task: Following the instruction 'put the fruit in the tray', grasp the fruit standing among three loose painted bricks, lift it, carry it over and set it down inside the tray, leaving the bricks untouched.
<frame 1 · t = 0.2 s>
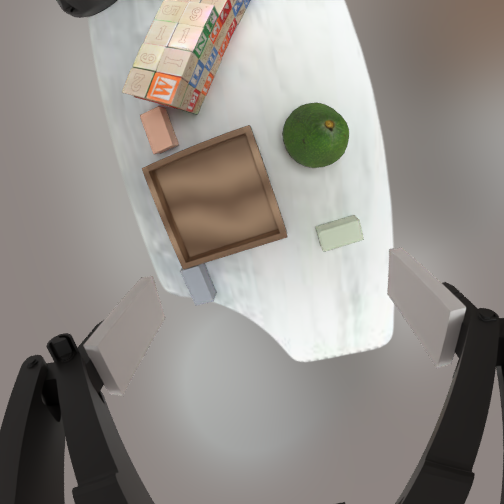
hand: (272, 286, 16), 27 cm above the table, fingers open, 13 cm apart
terracotta brick: (163, 130, 38), on the table
tray: (216, 197, 41), on the table
sage brick: (337, 229, 42), on the table
fruit: (309, 137, 38), on the table
stack of blocks: (206, 45, 34), on the table
slate brick: (201, 277, 46), on the table
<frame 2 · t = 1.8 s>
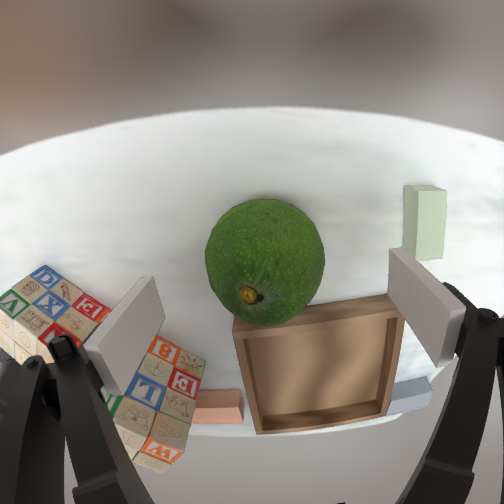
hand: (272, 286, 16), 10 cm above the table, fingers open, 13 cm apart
terracotta brick: (217, 397, 32), on the table
tray: (319, 366, 29), on the table
sage brick: (416, 217, 24), on the table
fruit: (265, 235, 25), on the table
stack of blocks: (113, 331, 30), on the table
slate brick: (402, 388, 31), on the table
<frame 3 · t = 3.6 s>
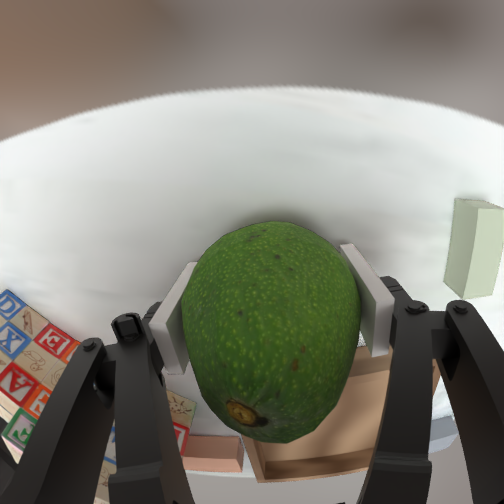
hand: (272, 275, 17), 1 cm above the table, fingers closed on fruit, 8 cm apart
terracotta brick: (213, 442, 25), on the table
tray: (334, 414, 23), on the table
sage brick: (464, 240, 17), on the table
fruit: (272, 265, 18), on the table, touching gripper
stack of blocks: (87, 365, 23), on the table
slate brick: (424, 427, 24), on the table
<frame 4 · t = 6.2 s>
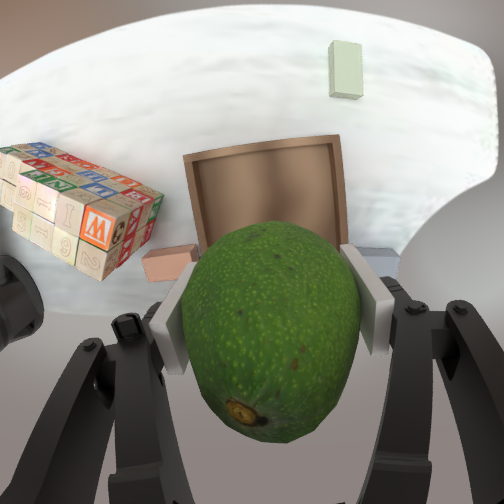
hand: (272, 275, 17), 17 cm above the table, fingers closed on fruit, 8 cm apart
terracotta brick: (175, 258, 35), on the table
tray: (270, 213, 33), on the table
sage brick: (341, 73, 27), on the table
fruit: (272, 265, 18), point 15 cm above the table, touching gripper
stack of blocks: (88, 186, 33), on the table
slate brick: (367, 259, 34), on the table
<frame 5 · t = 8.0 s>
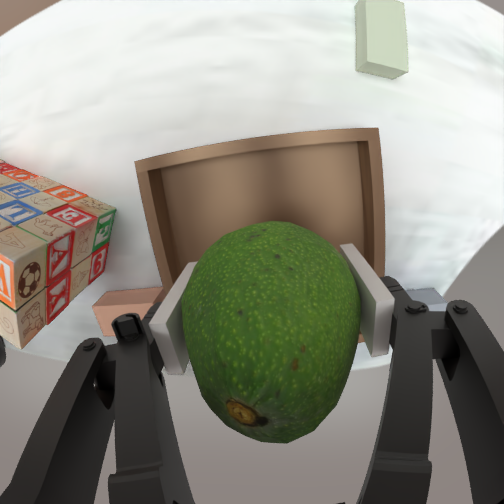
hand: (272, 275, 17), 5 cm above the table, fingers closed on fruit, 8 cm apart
terracotta brick: (139, 303, 25), on the table
tray: (270, 245, 22), on the table
sage brick: (373, 41, 16), on the table
fruit: (272, 265, 18), point 4 cm above the table, touching gripper
stack of blocks: (29, 201, 22), on the table
slate brick: (401, 304, 24), on the table
when the fingers open (4 cm above the table, at t = 9.2 s): fruit drops 2 cm, resting on tray.
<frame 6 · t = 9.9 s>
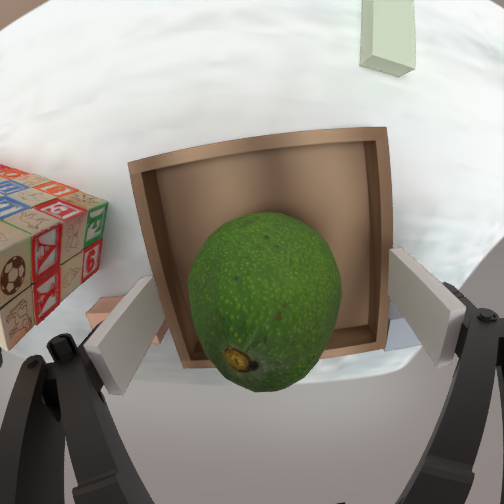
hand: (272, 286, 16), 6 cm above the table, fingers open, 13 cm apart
terracotta brick: (134, 309, 24), on the table
tray: (271, 250, 21), on the table
sage brick: (379, 37, 15), on the table
fruit: (267, 253, 21), resting on tray
stack of blocks: (21, 201, 21), on the table
slate brick: (407, 311, 22), on the table
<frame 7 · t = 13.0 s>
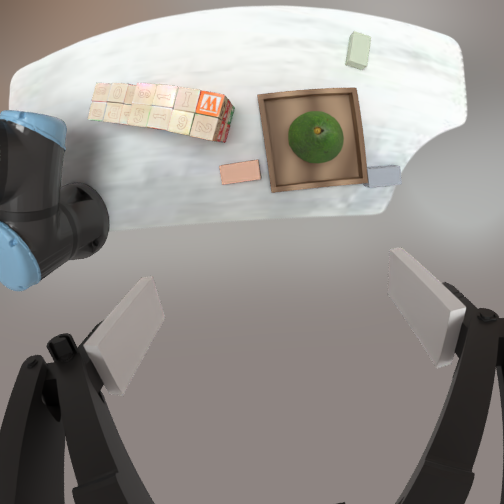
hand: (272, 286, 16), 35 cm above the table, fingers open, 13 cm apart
terracotta brick: (241, 171, 47), on the table
tray: (312, 138, 45), on the table
sage brick: (355, 53, 39), on the table
fruit: (311, 138, 44), resting on tray
stack of blocks: (171, 113, 45), on the table
slate brick: (378, 174, 46), on the table
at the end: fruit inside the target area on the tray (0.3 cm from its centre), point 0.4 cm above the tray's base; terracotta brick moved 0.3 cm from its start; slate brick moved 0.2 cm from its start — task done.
